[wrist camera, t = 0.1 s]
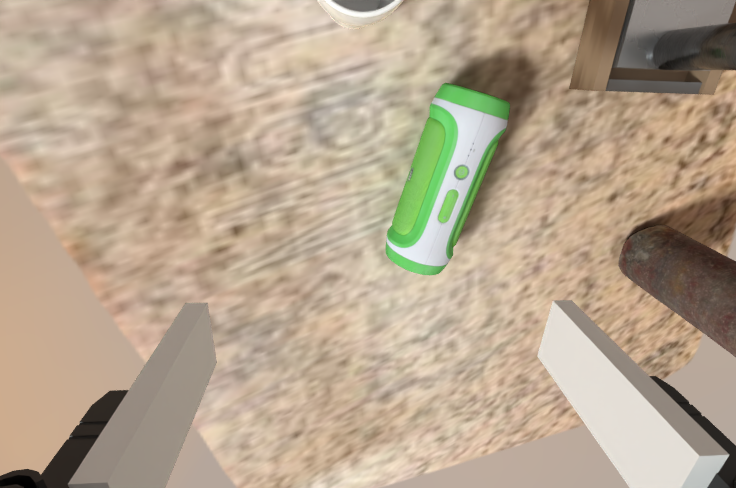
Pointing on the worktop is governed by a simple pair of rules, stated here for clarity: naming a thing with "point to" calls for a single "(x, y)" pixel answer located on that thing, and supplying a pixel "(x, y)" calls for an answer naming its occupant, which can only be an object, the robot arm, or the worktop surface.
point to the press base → (600, 76)
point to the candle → (685, 279)
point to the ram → (677, 36)
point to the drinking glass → (359, 11)
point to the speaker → (445, 177)
